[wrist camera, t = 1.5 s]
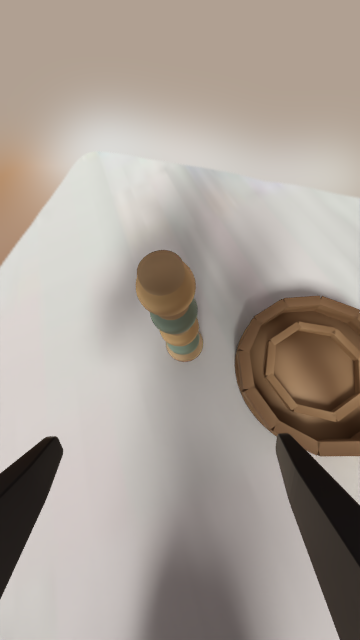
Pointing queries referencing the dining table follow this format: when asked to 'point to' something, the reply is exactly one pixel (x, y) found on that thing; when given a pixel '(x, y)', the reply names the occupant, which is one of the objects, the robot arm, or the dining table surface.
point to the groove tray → (304, 373)
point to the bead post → (171, 302)
